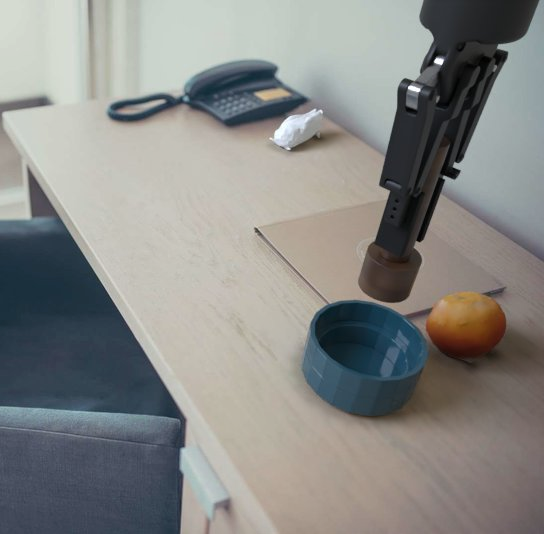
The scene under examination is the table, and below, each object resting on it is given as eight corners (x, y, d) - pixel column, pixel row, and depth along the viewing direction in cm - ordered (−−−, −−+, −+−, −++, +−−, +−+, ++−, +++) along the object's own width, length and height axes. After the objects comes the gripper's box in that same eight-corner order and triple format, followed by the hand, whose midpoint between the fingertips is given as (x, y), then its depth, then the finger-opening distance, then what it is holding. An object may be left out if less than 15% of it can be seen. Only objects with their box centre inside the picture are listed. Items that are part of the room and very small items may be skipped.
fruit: (492, 381, 69) (477, 313, 67) (424, 370, 76) (409, 308, 74) (526, 347, 73) (514, 283, 72) (460, 340, 80) (446, 281, 78)
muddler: (420, 288, 63) (475, 141, 53) (392, 310, 61) (446, 160, 51) (375, 264, 66) (420, 120, 56) (347, 284, 64) (390, 137, 54)
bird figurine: (293, 135, 121) (265, 139, 114) (310, 102, 117) (282, 104, 110) (314, 148, 119) (286, 154, 111) (332, 115, 115) (304, 119, 108)
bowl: (432, 380, 71) (449, 341, 67) (373, 439, 65) (388, 400, 61) (340, 323, 78) (351, 285, 74) (278, 372, 72) (287, 333, 68)
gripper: (487, -52, 52) (406, 196, 66) (380, -20, 43) (315, 256, 58) (586, -33, 48) (477, 228, 62) (489, 6, 39) (389, 298, 54)
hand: (399, 241), depth 60 cm, fingers closed on muddler, 3 cm apart
